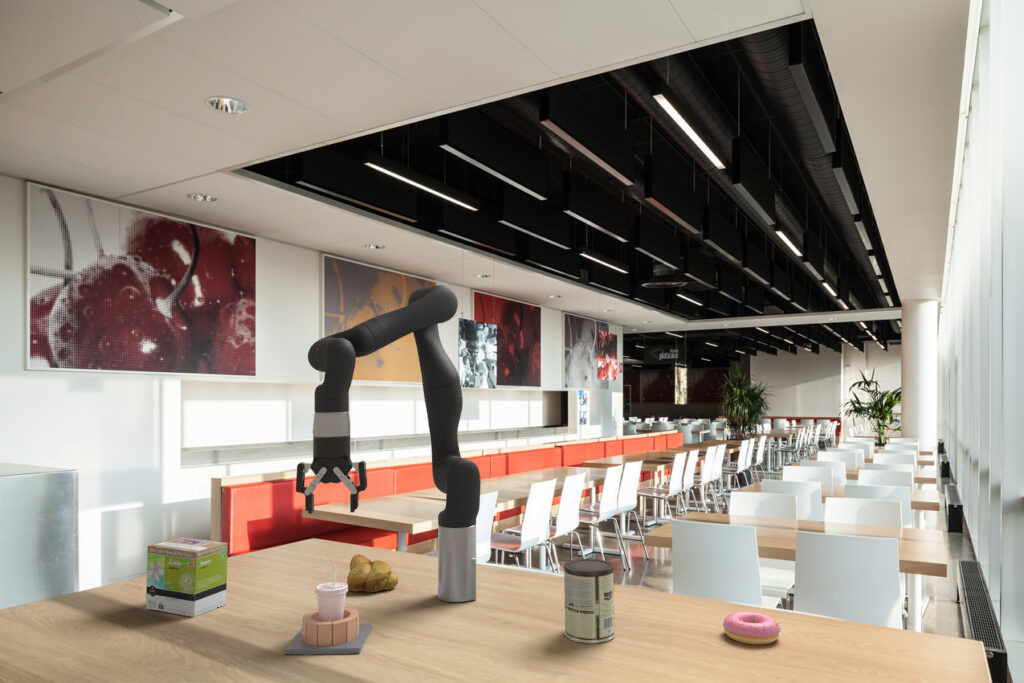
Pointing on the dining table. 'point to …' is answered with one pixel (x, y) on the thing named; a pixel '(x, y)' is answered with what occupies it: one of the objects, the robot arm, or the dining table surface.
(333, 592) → the smoothie
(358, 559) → the bread roll
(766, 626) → the doughnut
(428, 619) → the dining table surface
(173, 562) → the tea box
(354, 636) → the collar
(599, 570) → the coffee can
